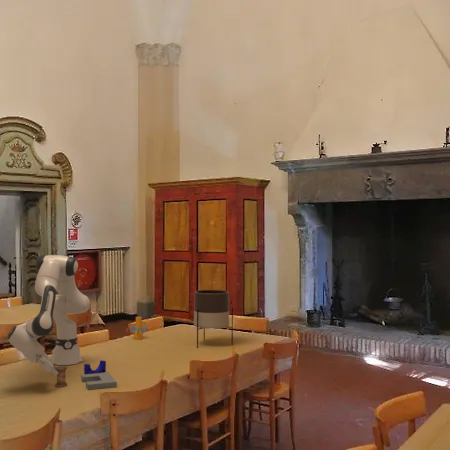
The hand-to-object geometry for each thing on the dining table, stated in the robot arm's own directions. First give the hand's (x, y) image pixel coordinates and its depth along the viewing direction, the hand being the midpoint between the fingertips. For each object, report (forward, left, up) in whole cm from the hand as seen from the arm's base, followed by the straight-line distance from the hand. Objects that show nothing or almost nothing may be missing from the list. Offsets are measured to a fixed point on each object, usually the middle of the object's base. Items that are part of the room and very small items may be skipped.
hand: (56, 371), depth 291 cm
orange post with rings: (-103, +68, -7) cm, 123 cm away
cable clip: (-17, +23, -8) cm, 29 cm away
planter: (-66, +107, -7) cm, 126 cm away
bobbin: (0, +2, -7) cm, 8 cm away
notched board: (+2, +20, -7) cm, 22 cm away
